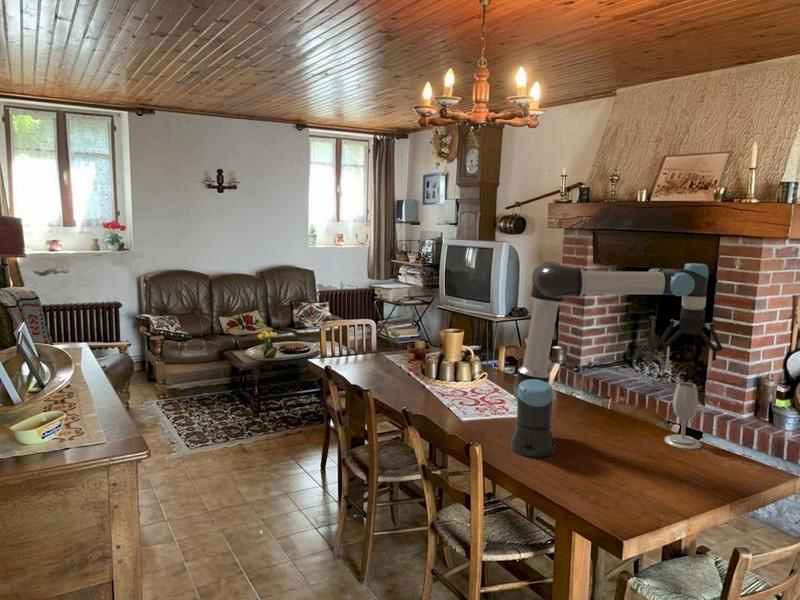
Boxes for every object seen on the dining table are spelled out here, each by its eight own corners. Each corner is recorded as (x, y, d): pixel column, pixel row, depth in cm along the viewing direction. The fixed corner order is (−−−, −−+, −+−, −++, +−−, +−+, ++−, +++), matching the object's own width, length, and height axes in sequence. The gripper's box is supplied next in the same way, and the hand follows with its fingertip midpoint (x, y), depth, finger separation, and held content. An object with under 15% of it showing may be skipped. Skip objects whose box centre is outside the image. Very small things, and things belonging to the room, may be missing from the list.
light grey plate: (682, 451, 208) (682, 449, 208) (657, 438, 219) (657, 437, 219) (709, 447, 212) (709, 445, 212) (683, 435, 223) (683, 433, 223)
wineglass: (695, 438, 218) (700, 382, 215) (696, 447, 210) (700, 389, 207) (669, 435, 221) (673, 380, 218) (669, 443, 213) (673, 385, 210)
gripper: (733, 309, 207) (727, 369, 210) (655, 303, 217) (650, 360, 220) (734, 312, 200) (728, 373, 203) (653, 306, 211) (649, 365, 214)
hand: (688, 367), depth 212 cm, fingers open, 13 cm apart
